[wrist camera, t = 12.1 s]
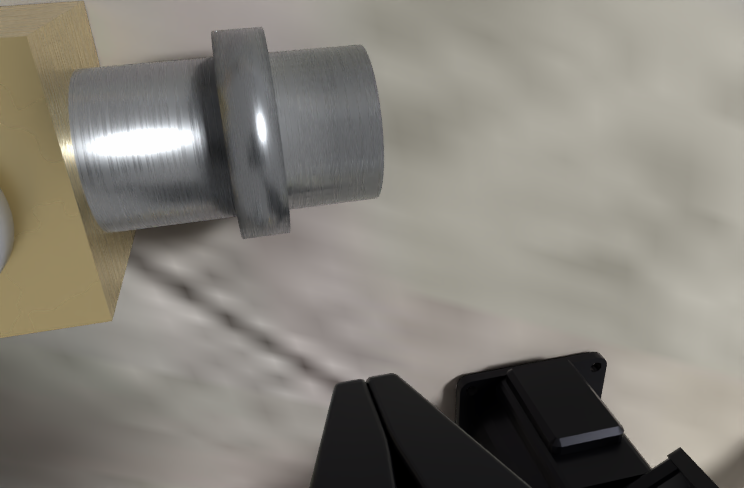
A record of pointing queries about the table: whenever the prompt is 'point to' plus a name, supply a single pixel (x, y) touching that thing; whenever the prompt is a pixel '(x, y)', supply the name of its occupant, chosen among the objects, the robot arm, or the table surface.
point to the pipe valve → (162, 151)
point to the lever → (5, 231)
